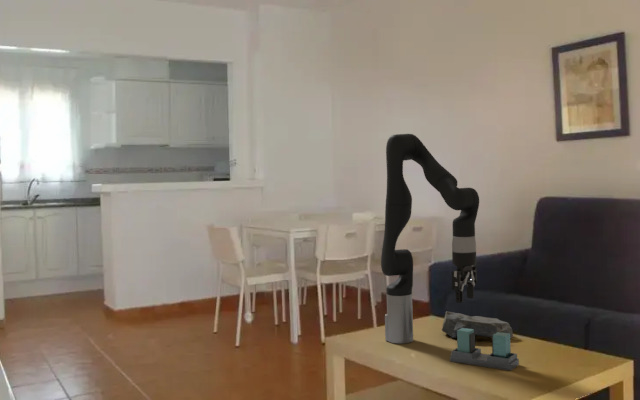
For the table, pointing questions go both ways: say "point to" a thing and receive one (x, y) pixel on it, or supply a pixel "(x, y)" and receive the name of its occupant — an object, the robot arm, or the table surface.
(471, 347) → the block
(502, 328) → the stone
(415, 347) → the table surface
